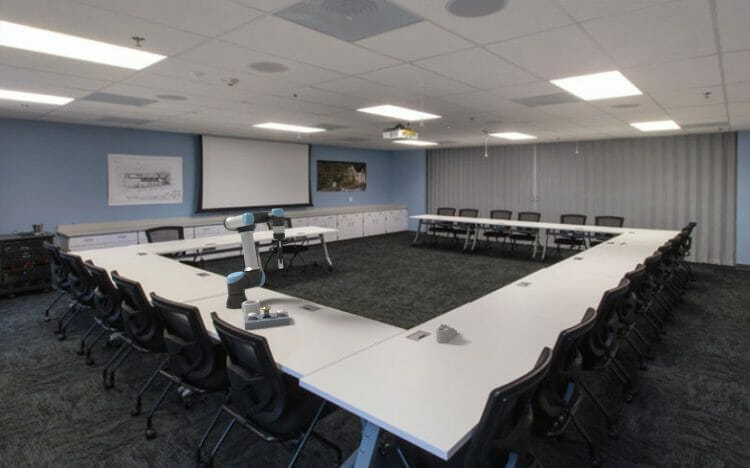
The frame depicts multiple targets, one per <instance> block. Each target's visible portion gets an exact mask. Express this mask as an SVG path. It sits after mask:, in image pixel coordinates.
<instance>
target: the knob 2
mask: <svg viewBox="0 0 750 468" xmlns="http://www.w3.org/2000/svg"><path fill="white" fill-rule="evenodd" d="M285 312H286V310H285V309H278V310H276V313H277V314H278V317H283V316H284V313H285Z"/></svg>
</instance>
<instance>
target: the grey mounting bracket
mask: <svg viewBox="0 0 750 468" xmlns="http://www.w3.org/2000/svg"><path fill="white" fill-rule="evenodd" d="M435 330H436V333H435V334H436V343H438V344H447V343H448V342H450V340H452V339H453V338H454V337H456V336H457V335H458V330H457V329H455V328H454V327H450V326H449V324H443V323H441V324H440V325H439V326H438V327H437V328H436V329H435Z"/></svg>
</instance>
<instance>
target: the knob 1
mask: <svg viewBox="0 0 750 468" xmlns="http://www.w3.org/2000/svg"><path fill="white" fill-rule="evenodd" d="M256 316H257V313H249V314H248V317H249V320H256Z"/></svg>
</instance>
